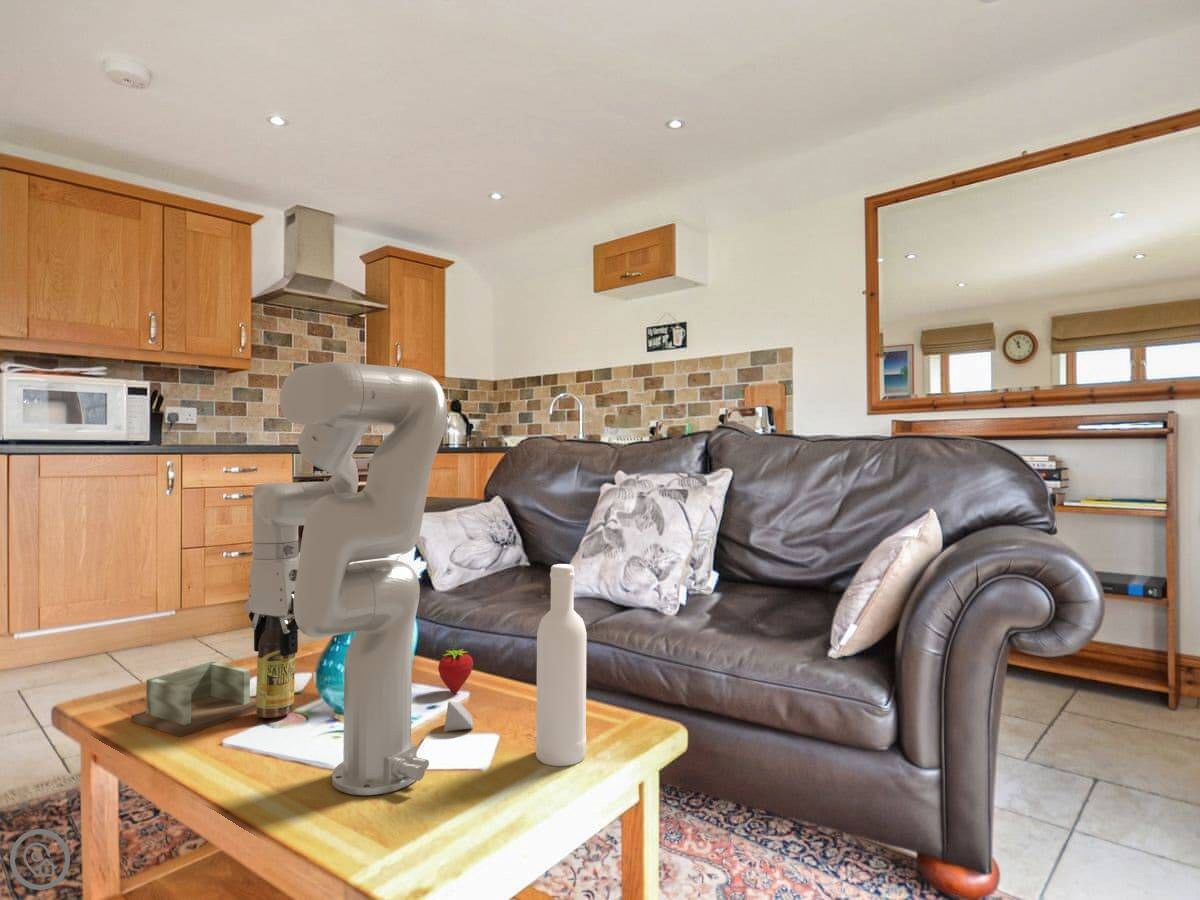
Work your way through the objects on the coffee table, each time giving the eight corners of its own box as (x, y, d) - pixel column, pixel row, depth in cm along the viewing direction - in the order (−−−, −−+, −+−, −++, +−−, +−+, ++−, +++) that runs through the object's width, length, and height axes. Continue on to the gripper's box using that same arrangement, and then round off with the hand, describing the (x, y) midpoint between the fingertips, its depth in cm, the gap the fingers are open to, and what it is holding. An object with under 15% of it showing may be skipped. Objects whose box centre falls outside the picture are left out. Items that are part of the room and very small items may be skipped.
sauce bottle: (267, 722, 125) (266, 607, 125) (249, 715, 128) (248, 603, 129) (302, 711, 130) (302, 601, 130) (284, 704, 134) (283, 597, 134)
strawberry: (480, 690, 143) (480, 640, 143) (452, 701, 137) (452, 649, 137) (458, 684, 147) (459, 636, 147) (430, 695, 141) (431, 644, 141)
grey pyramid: (426, 713, 124) (448, 691, 126) (445, 733, 127) (467, 712, 129) (441, 729, 119) (464, 706, 121) (461, 751, 122) (483, 728, 124)
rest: (265, 706, 134) (265, 668, 134) (180, 736, 119) (180, 694, 119) (216, 694, 140) (217, 658, 140) (131, 721, 126) (131, 681, 126)
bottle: (595, 753, 114) (597, 564, 114) (566, 771, 108) (567, 571, 108) (556, 741, 119) (557, 560, 119) (525, 758, 112) (526, 566, 112)
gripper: (326, 551, 129) (326, 652, 128) (261, 546, 137) (262, 641, 136) (291, 557, 122) (291, 663, 122) (225, 551, 130) (225, 651, 130)
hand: (275, 651), depth 129 cm, fingers closed on sauce bottle, 6 cm apart
